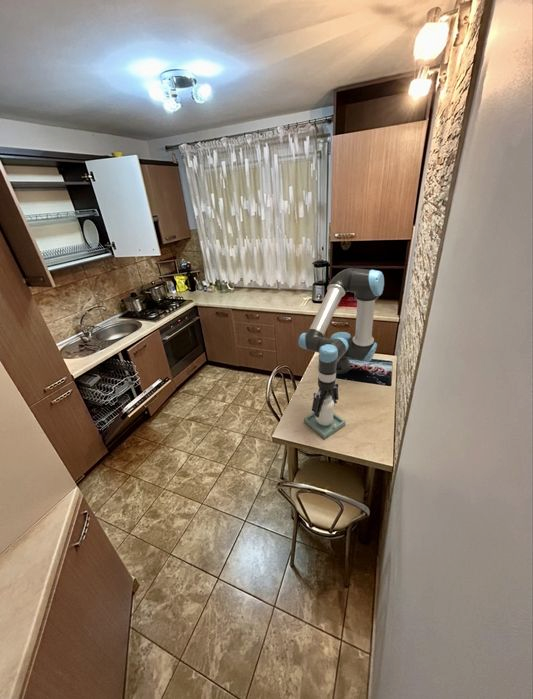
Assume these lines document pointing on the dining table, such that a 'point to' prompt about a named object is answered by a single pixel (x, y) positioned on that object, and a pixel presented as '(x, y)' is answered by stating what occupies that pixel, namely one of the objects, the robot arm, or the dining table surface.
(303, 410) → the dining table surface
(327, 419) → the pill bottle
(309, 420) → the tray
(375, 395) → the dining table surface
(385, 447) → the dining table surface
